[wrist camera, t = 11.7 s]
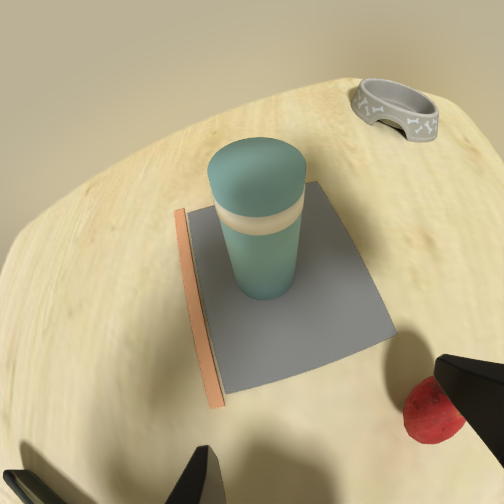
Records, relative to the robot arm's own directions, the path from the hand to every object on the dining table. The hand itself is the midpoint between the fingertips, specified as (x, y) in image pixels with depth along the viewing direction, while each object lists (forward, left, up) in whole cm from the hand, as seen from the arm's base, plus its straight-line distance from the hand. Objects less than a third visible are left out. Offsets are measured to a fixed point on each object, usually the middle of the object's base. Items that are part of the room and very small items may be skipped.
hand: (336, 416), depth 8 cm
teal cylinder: (+9, +9, -13) cm, 19 cm away
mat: (+11, +8, -14) cm, 19 cm away
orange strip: (+4, +14, -14) cm, 20 cm away
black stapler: (-27, +11, -14) cm, 32 cm away
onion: (+4, -10, -14) cm, 18 cm away
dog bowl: (+51, +4, -14) cm, 53 cm away
